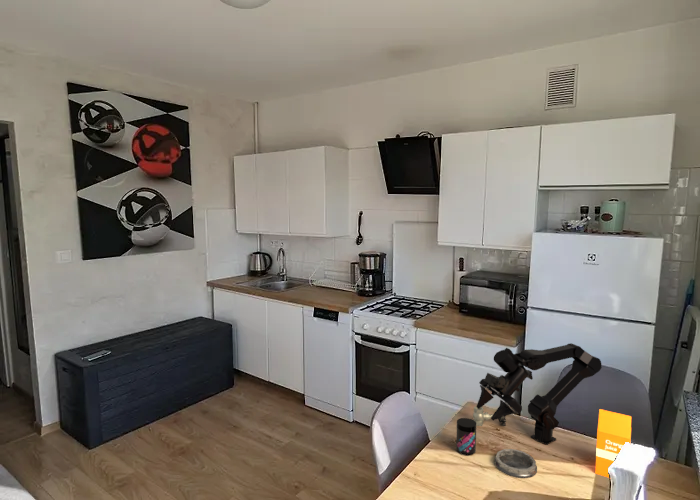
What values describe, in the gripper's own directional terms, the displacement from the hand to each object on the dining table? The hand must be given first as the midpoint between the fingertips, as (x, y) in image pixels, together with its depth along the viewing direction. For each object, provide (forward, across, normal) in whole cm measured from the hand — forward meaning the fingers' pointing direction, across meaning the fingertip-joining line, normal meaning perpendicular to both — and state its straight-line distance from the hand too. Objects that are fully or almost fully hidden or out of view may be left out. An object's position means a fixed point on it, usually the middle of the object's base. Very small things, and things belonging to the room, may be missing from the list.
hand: (484, 413), depth 149 cm
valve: (+1, -15, +17) cm, 23 cm away
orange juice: (-14, +23, +32) cm, 42 cm away
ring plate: (+6, +12, +12) cm, 18 cm away
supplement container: (+14, 0, +4) cm, 15 cm away
